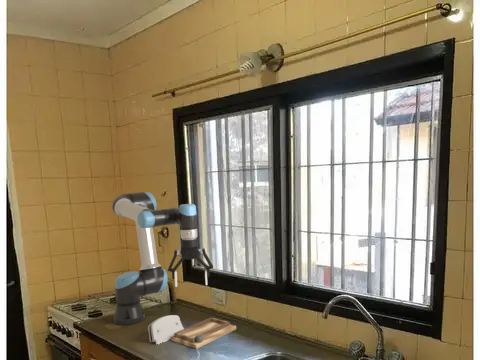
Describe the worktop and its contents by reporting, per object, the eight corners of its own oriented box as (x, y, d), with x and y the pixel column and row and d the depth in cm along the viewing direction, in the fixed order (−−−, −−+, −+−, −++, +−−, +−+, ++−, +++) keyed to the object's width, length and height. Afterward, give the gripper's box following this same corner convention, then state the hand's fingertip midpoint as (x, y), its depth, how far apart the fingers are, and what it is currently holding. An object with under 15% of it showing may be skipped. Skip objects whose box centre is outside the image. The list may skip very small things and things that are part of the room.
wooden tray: (171, 340, 177) (170, 332, 176) (211, 322, 196) (210, 315, 196) (196, 348, 166) (196, 340, 166) (236, 329, 185) (235, 321, 185)
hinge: (156, 345, 172) (150, 321, 174) (150, 346, 175) (144, 323, 177) (186, 332, 185) (180, 310, 187) (180, 333, 188) (174, 312, 190)
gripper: (160, 241, 178) (162, 289, 178) (216, 238, 180) (219, 285, 180) (162, 238, 185) (164, 284, 186) (216, 235, 187) (219, 281, 187)
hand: (191, 285), depth 183 cm, fingers open, 13 cm apart
